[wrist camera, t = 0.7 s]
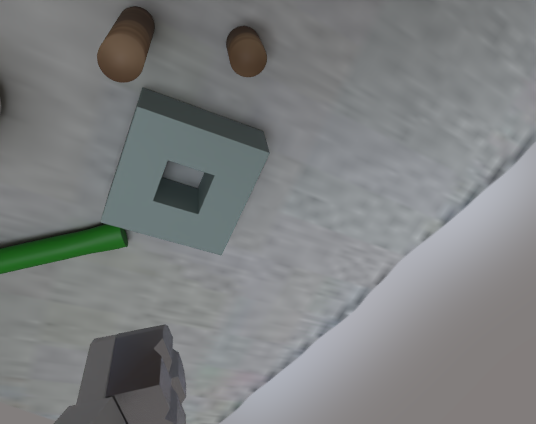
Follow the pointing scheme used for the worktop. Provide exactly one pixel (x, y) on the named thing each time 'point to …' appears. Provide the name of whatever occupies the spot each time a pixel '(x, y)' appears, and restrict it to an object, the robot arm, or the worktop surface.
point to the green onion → (62, 247)
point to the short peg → (246, 51)
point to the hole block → (191, 155)
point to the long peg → (126, 45)
